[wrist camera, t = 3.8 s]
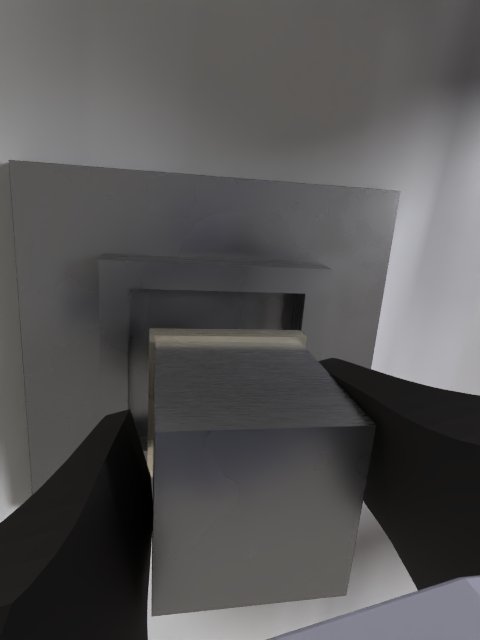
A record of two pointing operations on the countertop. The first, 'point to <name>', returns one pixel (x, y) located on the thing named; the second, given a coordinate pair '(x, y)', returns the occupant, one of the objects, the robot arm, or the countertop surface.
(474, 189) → the countertop surface
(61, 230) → the stand base
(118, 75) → the countertop surface
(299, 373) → the brushed metal block
